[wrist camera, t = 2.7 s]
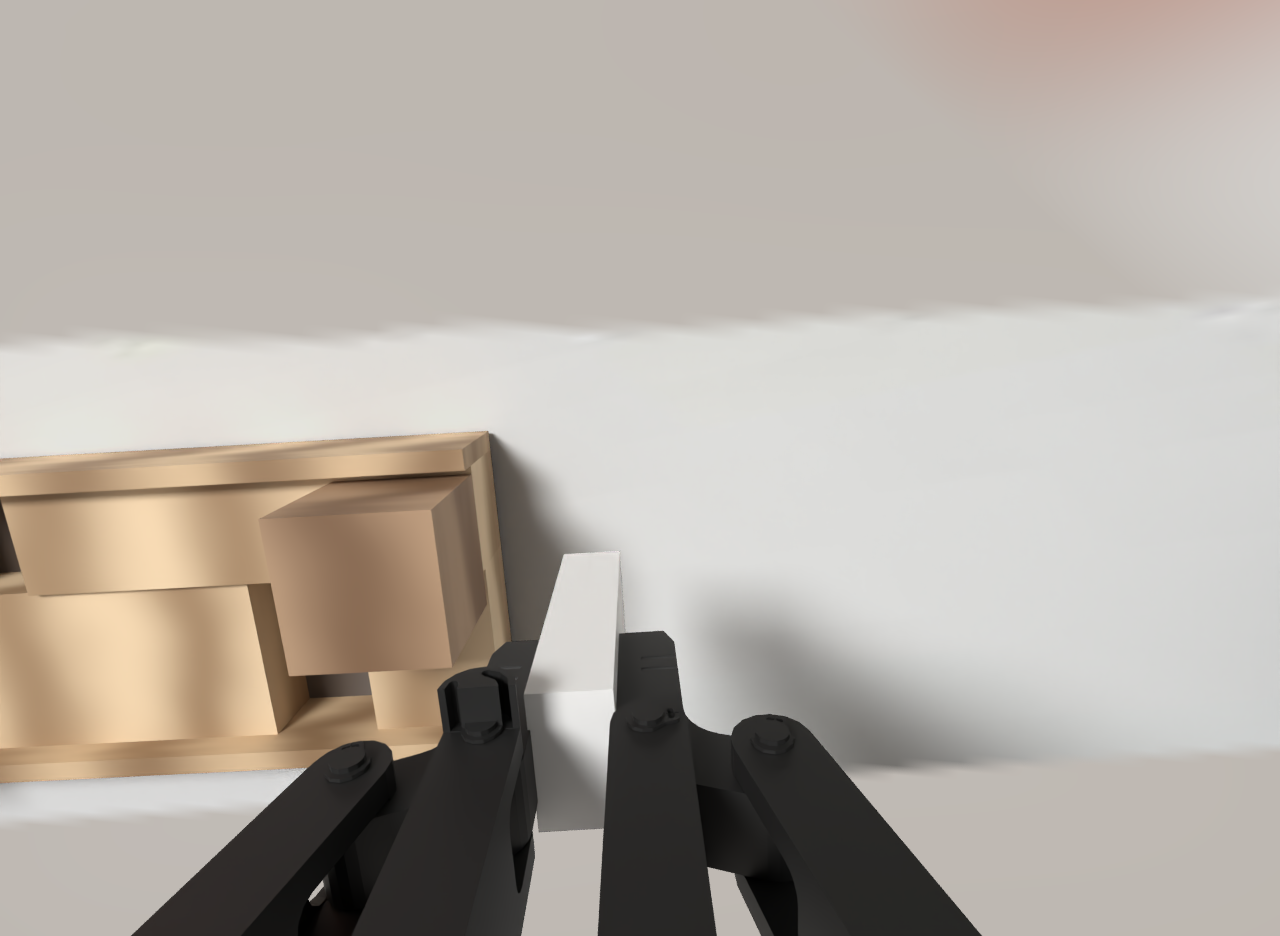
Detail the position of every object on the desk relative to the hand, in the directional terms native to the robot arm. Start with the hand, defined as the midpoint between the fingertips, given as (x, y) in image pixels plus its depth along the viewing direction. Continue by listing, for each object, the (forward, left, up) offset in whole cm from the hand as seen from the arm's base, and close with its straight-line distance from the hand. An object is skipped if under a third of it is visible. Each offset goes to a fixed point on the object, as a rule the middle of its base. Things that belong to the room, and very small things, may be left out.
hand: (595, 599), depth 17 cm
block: (+7, +1, -6) cm, 9 cm away
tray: (+18, +5, -9) cm, 20 cm away
